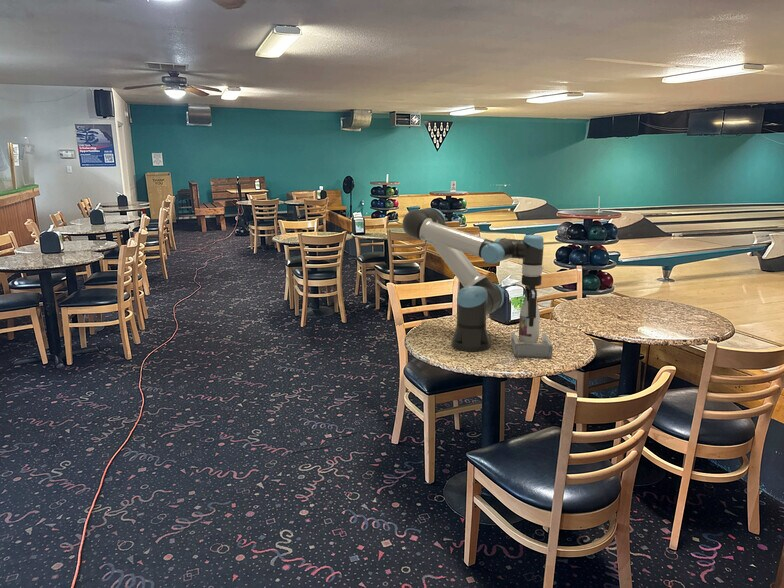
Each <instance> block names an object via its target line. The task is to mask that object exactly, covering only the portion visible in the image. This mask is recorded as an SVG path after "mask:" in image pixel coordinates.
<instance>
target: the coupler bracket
mask: <svg viewBox="0 0 784 588" xmlns="http://www.w3.org/2000/svg"><path fill="white" fill-rule="evenodd" d="M510 333H511V335H510V345H511V348H512V351H513V354H514V357H515V358H525V359H553V348H554V347H553V344H552V342H551V340H550V339H549V337H548V335H547V333H546V332H542V333H541V343H540V342H536V343H525V342H519V339H518V337H517V335H516V333H515V332H514V331H511V332H510Z"/></svg>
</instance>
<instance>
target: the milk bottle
mask: <svg viewBox="0 0 784 588" xmlns="http://www.w3.org/2000/svg"><path fill="white" fill-rule="evenodd" d="M529 299H530V298H529ZM519 312H520V313H519V323H518V325H519V326H518V341H520V343H538V342H539V333H540V318H541V317H540V315H541V314H540V308H539V306H538V303H537V301H536V318H535V323H534V334H527V318H526V317H528V301H527V294H526V292H525V291H524V302H523V303H522V306H521V309H520V311H519Z"/></svg>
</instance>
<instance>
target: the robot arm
mask: <svg viewBox="0 0 784 588" xmlns="http://www.w3.org/2000/svg"><path fill="white" fill-rule="evenodd" d="M402 228H403V232H404V234H406V235H407V236H409V237H410V238H413V239H417V240H419V241H423V242H425V243H426V244H427V245H431V246H432V247H433V249H434V250H435V251H436V252H437V253H438V255H439V256H440V257H441V259H442V261H444V263H445V264H446V265H447V267H448V268H449V269H450V271H451V272H452V273H453V274H454V276H455V277H456V278H457V280H458V281H459V282H460V284H461V285H462V286H463V288H460V289H459V290H458V292H457V295H456V296H457V297H456V303H457V304H456V328H455V331H454V333H453V336H452V340H451V347H453V348H454V349H456V350H459V351H464V352H483V351H487V350H489V349H490V346H491V340H490V337H489V333H488V329H487V316H488V315H489V314H492V313H495V312H497V310H499V309H500V308H501V307H502V306H503V304H504V299H505V294H504V290H503V289H502V288H501V286H499V285H498V284H497V283H494V282H492V281H490V279H489V278H488V276H486V275H485V276H484V275H482V274H481V273H480V272H479V271H478V270H477V268H476V267H475V265H474V264H472V262H471V260H470V259H469V258H468V257H467V255H466V254H468V255H472V256H475V257H476V258H477V257H478V258H480V259H482V260H483V261H484V262H485V263H487V264H498V263H500V262H502V261H505V260H508V259H519V260H522V265H521V274H522V275H521V285H523V286H524V293H525V292H526V294H527V301H528V317H526V318H527V334H534V323H535V318H536V302H537V297H538V292H537V291H538V290H537V289H536V287H539V286H542V280H543V279H542V273H543V269H545V268H544V266H543V259H544V248H545V247H544V237H543V236H542V235H541V234H540V235H539V234H525V235H524V236H523V239H516V238H515V239H514V238H507V237H503V238H496V239H495V240H491V239H487V238H485V237H481V236H479V235H475V234H472V233H469V232H467V231H462V230H460V229H456V228H454V227H450V226H448V225H447V224H446V217H445V215H444V214H443V212H442V211H441V210H439V209H437V208H434V207H433V208H432V207H426V208H421V209H419V208H418V209H412V210H409V211H408V212H407V213H406V214H405V215H404V216H403V219H402ZM529 298H530V299H529Z"/></svg>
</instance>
